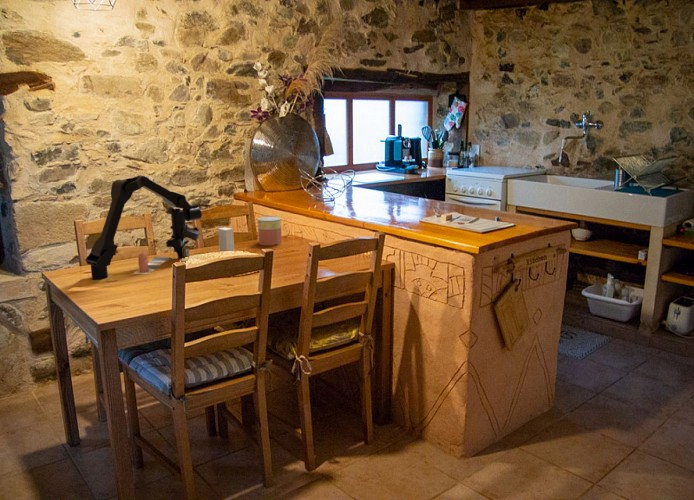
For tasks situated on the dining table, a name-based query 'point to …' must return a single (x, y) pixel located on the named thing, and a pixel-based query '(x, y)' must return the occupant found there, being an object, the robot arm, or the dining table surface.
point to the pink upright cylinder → (143, 263)
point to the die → (185, 253)
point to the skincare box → (226, 239)
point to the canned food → (269, 230)
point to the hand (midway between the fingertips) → (181, 258)
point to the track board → (154, 264)
